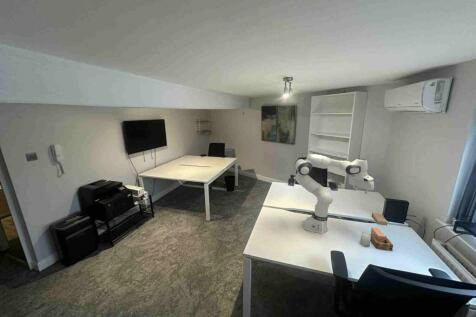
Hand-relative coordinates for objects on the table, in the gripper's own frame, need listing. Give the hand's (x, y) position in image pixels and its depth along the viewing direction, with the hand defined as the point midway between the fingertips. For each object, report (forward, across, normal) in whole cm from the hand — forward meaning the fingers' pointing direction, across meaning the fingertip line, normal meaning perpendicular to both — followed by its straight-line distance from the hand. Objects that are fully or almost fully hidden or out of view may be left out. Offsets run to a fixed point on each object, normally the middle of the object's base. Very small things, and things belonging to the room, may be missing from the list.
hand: (360, 191), depth 162 cm
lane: (+39, +20, -4) cm, 44 cm away
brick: (+42, -2, +34) cm, 54 cm away
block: (+39, +15, 0) cm, 42 cm away
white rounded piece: (+38, +14, -14) cm, 43 cm away
